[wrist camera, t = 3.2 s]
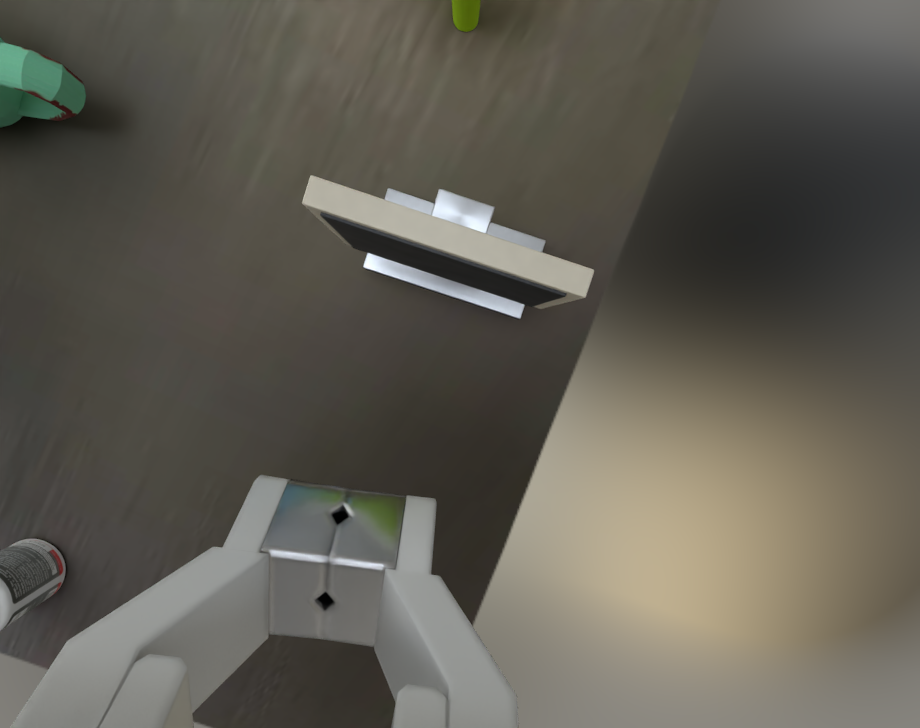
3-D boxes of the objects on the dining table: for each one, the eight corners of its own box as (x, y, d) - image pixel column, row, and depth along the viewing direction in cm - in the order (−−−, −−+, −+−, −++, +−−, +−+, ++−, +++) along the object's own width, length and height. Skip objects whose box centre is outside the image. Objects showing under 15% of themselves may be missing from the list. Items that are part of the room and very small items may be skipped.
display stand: (518, 319, 45) (553, 313, 31) (364, 268, 44) (328, 239, 30) (544, 242, 45) (590, 200, 31) (389, 190, 44) (365, 124, 30)
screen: (540, 311, 35) (584, 301, 24) (344, 247, 35) (300, 207, 24) (552, 275, 35) (602, 248, 24) (356, 209, 35) (317, 152, 24)
